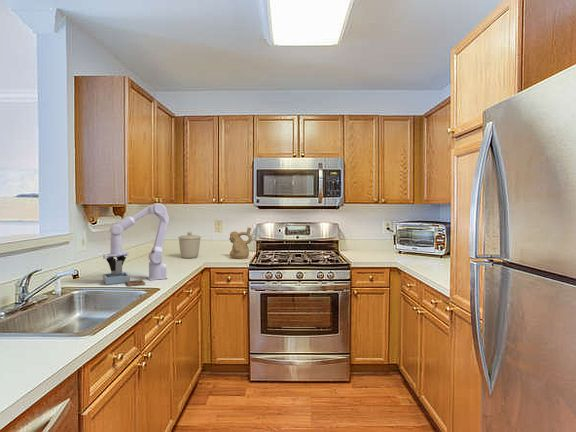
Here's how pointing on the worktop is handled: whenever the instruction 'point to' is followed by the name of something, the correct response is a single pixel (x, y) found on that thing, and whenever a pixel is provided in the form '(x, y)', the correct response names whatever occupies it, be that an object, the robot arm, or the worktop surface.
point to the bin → (115, 278)
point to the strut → (117, 268)
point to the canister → (189, 245)
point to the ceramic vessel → (240, 244)
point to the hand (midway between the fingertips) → (116, 270)
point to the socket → (135, 283)
